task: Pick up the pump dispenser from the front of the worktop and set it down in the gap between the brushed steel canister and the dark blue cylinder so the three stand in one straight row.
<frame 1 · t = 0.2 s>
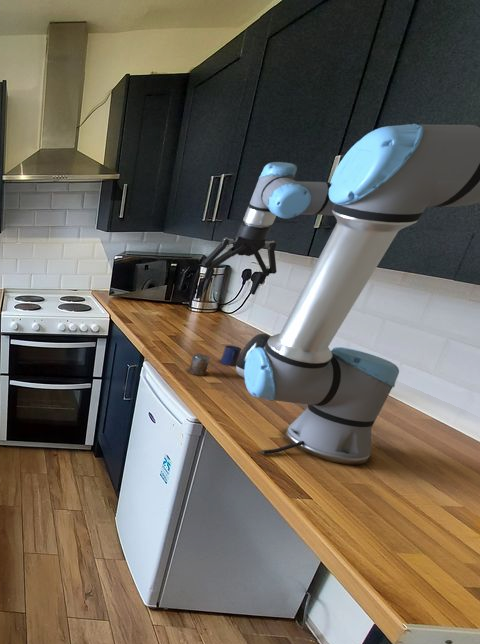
hand: (228, 290, 129), 27 cm above the worktop, tool tilted 15°, fingers open, 13 cm apart
dark blue cylinder: (228, 363, 146), on the worktop
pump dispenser: (250, 377, 134), on the worktop
steel canister: (196, 372, 136), on the worktop
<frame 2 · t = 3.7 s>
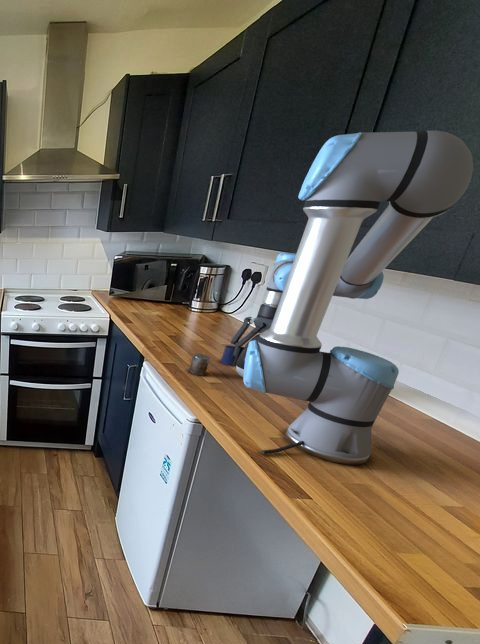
hand: (252, 370, 133), 2 cm above the worktop, tool pointing down, fingers closed on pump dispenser, 10 cm apart
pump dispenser: (250, 378, 134), on the worktop, touching gripper
everything else where it was.
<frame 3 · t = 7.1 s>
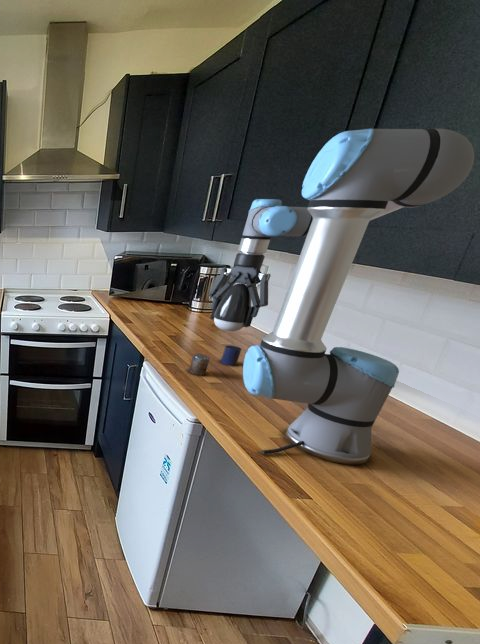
hand: (229, 322, 134), 17 cm above the worktop, tool pointing down, fingers closed on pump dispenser, 10 cm apart
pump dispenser: (227, 329, 135), point 14 cm above the worktop, touching gripper
everything else where it was.
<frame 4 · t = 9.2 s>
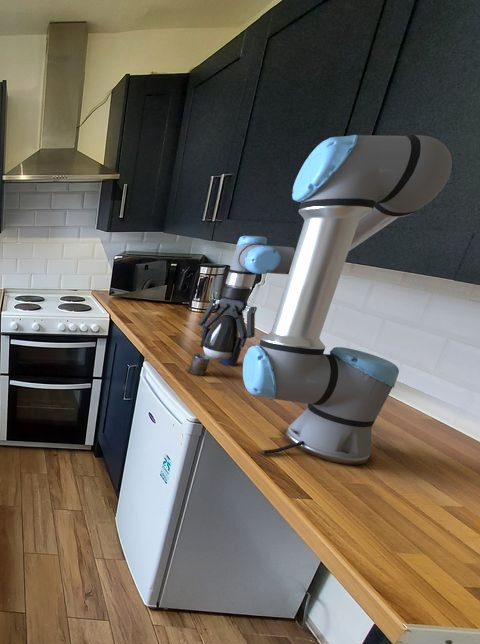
hand: (218, 351, 139), 6 cm above the worktop, tool pointing down, fingers closed on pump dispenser, 10 cm apart
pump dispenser: (216, 357, 140), point 4 cm above the worktop, touching gripper
everything else where it was.
when the fingers open (2 cm above the worktop, at t = 10.8 s): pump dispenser stays where it is, on the worktop.
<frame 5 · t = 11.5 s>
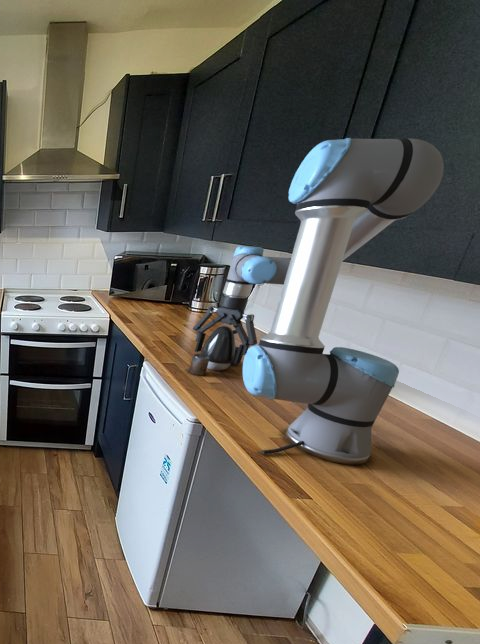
hand: (216, 357, 140), 4 cm above the worktop, tool pointing down, fingers open, 13 cm apart
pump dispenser: (213, 368, 141), on the worktop
everything else where it was.
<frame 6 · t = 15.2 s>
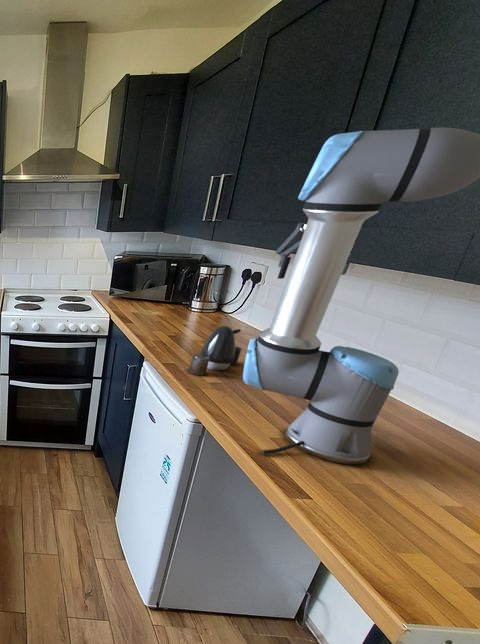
hand: (305, 282, 123), 32 cm above the worktop, tool pointing down, fingers open, 13 cm apart
nothing on the worktop moved.
at the end: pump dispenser inside the target area (0.2 cm from its centre), on the worktop; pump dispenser tilted 0°; dark blue cylinder moved 0.0 cm from its start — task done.
